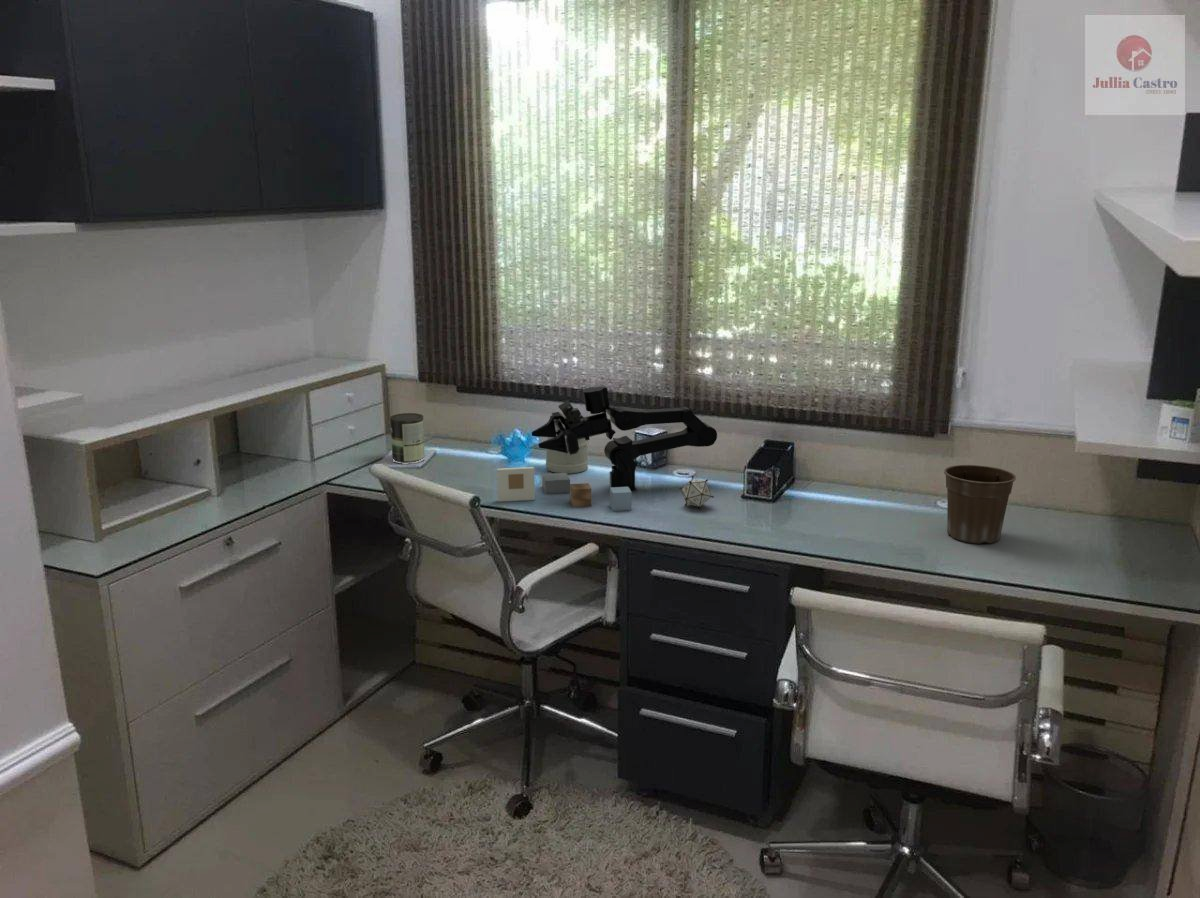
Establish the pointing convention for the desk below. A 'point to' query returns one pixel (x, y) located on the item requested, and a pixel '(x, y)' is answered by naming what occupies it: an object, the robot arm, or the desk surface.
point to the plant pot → (977, 502)
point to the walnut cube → (580, 494)
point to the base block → (556, 483)
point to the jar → (568, 459)
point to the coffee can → (407, 437)
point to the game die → (696, 492)
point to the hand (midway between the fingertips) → (535, 439)
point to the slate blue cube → (620, 498)
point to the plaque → (515, 484)
